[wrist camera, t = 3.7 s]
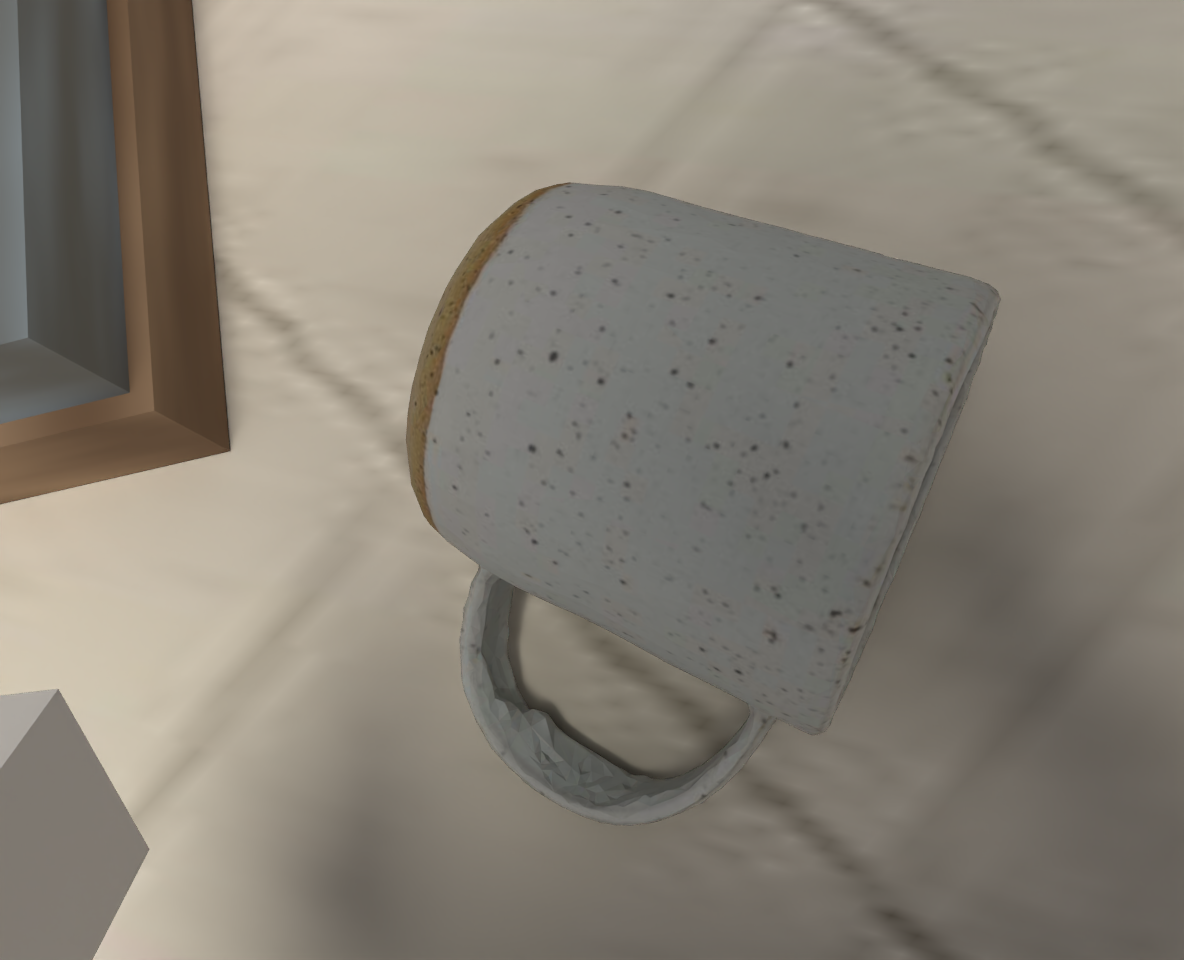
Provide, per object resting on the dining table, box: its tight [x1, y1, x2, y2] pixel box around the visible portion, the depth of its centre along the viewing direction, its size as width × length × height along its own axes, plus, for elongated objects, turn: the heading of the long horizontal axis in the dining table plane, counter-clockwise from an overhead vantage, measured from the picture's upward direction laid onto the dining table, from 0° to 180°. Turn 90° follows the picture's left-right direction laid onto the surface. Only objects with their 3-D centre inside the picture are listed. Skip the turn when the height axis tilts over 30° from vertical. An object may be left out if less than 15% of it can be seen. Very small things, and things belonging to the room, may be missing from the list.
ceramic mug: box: [406, 183, 1001, 826], centre depth 18 cm, size 11×8×8 cm
